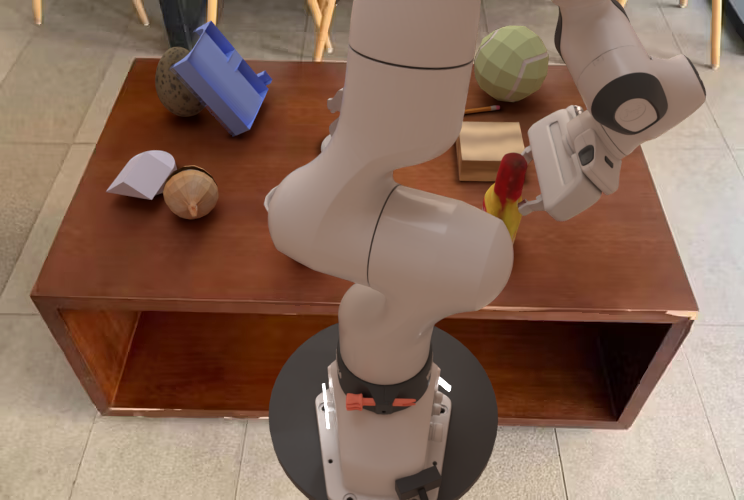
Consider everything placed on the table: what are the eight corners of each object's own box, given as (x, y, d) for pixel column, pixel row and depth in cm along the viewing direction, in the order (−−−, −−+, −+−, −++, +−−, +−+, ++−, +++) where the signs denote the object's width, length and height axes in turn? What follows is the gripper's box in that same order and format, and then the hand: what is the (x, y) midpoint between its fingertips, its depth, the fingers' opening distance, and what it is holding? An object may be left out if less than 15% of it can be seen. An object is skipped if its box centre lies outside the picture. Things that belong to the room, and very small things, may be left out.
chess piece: (342, 128, 139) (339, 64, 128) (380, 146, 135) (381, 81, 124) (310, 152, 133) (305, 87, 123) (349, 172, 129) (347, 106, 118)
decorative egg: (217, 124, 140) (204, 59, 129) (163, 131, 138) (146, 66, 127) (213, 95, 147) (200, 31, 136) (162, 101, 145) (146, 37, 134)
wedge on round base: (156, 213, 121) (186, 167, 130) (146, 185, 116) (178, 139, 125) (111, 205, 123) (143, 160, 131) (99, 177, 118) (134, 133, 127)
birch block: (523, 181, 127) (527, 161, 124) (459, 180, 128) (462, 160, 124) (515, 142, 136) (519, 122, 132) (455, 141, 136) (457, 121, 132)
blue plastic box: (249, 129, 134) (224, 140, 138) (273, 79, 144) (248, 90, 148) (186, 60, 124) (161, 73, 128) (217, 10, 134) (192, 24, 138)
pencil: (498, 105, 144) (411, 116, 141) (499, 104, 143) (412, 115, 140) (498, 109, 144) (412, 120, 141) (500, 109, 143) (413, 120, 140)
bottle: (513, 274, 111) (535, 182, 97) (475, 269, 112) (490, 178, 98) (514, 224, 120) (534, 132, 105) (478, 220, 120) (493, 128, 106)
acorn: (197, 146, 122) (191, 171, 108) (230, 185, 126) (227, 214, 112) (156, 175, 123) (145, 203, 109) (190, 213, 127) (182, 245, 113)
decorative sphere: (535, 60, 129) (503, 122, 139) (573, 45, 138) (541, 104, 148) (477, 18, 134) (450, 82, 144) (518, 7, 143) (490, 67, 154)
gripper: (568, 88, 105) (497, 137, 112) (595, 173, 91) (511, 224, 98) (590, 112, 108) (519, 159, 115) (620, 198, 94) (537, 246, 101)
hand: (516, 190), depth 106 cm, fingers open, 8 cm apart
